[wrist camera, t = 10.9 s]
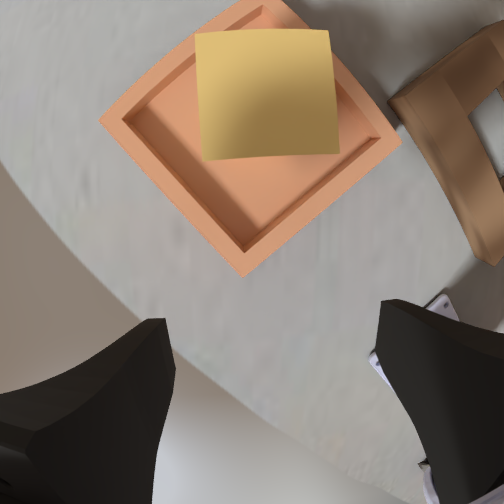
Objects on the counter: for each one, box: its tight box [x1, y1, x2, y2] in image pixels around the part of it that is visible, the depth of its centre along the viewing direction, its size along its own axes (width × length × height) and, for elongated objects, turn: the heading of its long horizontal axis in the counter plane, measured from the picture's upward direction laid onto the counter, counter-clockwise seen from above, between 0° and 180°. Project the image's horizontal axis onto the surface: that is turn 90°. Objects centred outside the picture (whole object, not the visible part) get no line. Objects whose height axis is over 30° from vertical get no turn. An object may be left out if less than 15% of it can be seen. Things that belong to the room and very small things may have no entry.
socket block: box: [387, 20, 504, 267], centre depth 17 cm, size 14×14×2 cm
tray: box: [98, 0, 403, 278], centre depth 17 cm, size 12×12×2 cm
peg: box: [195, 29, 340, 162], centre depth 13 cm, size 4×4×9 cm
